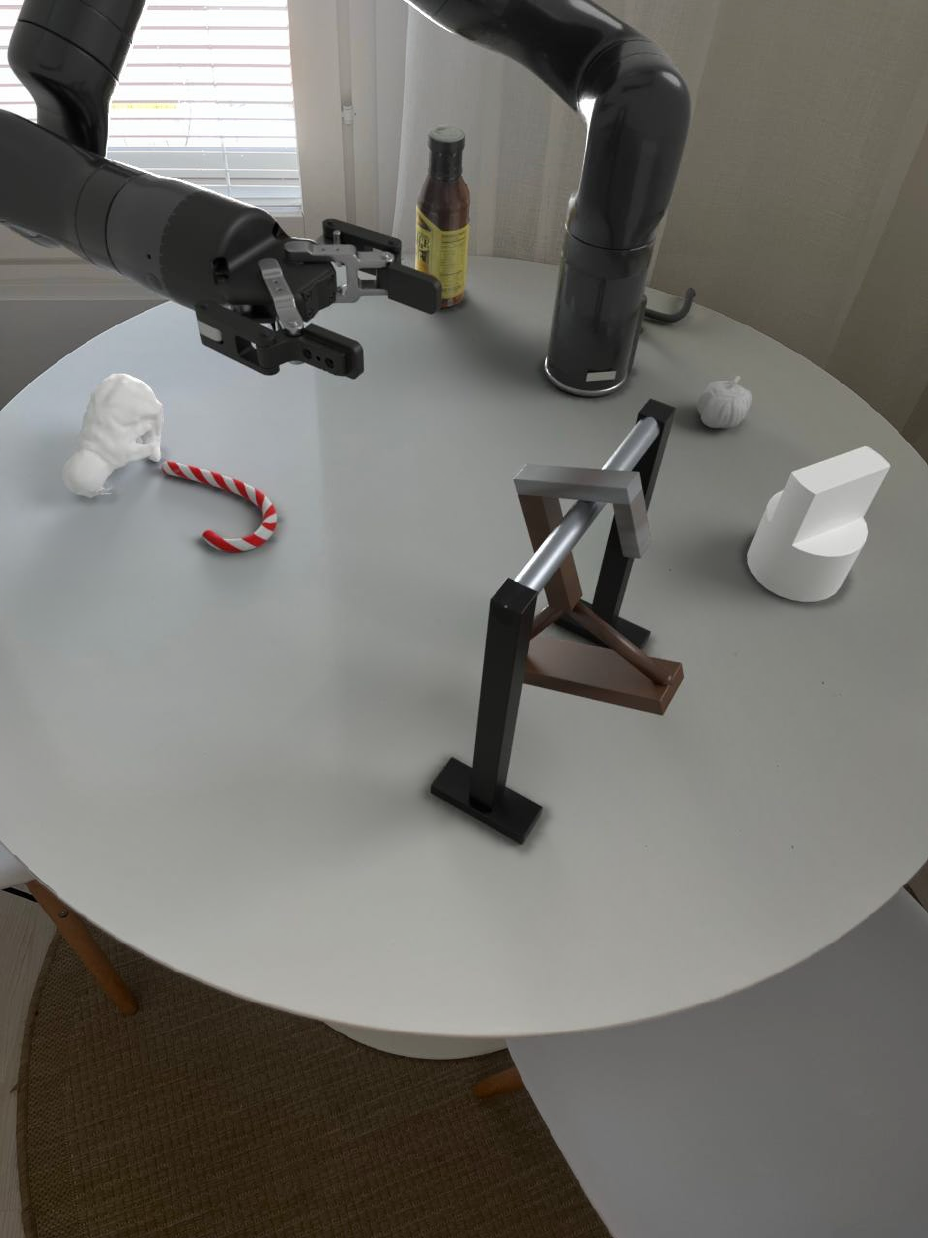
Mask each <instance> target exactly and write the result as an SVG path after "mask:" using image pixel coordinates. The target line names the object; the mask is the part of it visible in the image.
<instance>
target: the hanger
mask: <svg viewBox="0 0 928 1238" xmlns="http://www.w3.org/2000/svg"><path fill="white" fill-rule="evenodd" d="M512 480H513V483H514V488H515V490H516V494H517V498H518V502H519V505H520V509H521V513H522V515H523V520H524V523H525V527H526V530H527V533H528V537H529V540H530V545H531V547H532V551H533V555H534V554H535V553H536V552H537V550H538V549H539V548H540V547H541V545H542V544H543V543H544V542H545V540H546V539H547V538H548V536H549V535H550V534H551V533H552V531H553V530H554V529H555V528H556V526H557V525H558V524H559V522H560V521H561V520H562V519H563V517H564V513H563V510H562V507H561V503H560V499H561V500H572V501H573V500H575V501H577V500H583V501H593V502H604V503H607V504H612V509H613V515H614V514H615V519H616V524H617V528H618V533H619V538H620V543H621V548H622V552H623V556H624V557H631V558H635V559H642V558H643V556H644V555H645V553H646V552H647V550H648V548H649V547H650V546H651V544H652V543H653V540H652V534H651V529H650V523H649V517H648V512H647V511H646V506H645V500H644V495H643V489H642V484H641V479H640V473H639V472H633V471H619V470H605V469H602V468H591V467H575V466H561V465H549V464H548V465H547V464H534V463H533V464H532V463H526V464H525V465H524V466H523V467H522V468H521V469H520V470H519V472H518V473H517V474H516V475H515V476H514V477H513V479H512ZM543 591H544V593H545V597H546V601H547V604H548V605H547V606H545V607H544V608H543V609H542V610H540V611H539V612H538V613H537V614H536V615H534V620H533V626H532V632H531V638H530V644H529V650H528V656H527V662H526V667H525V673H524V679H523V685H528V686H533V687H538V688H541V689H544V690H545V689H546V690H550V691H553V692H559V693H563V694H568V695H572V696H576V697H580V698H584V699H589V700H593V701H597V702H600V703H601V702H602V703H606V704H610V705H614V706H618V707H622V708H626V709H632V710H636V711H640V712H645V713H649V714H653V715H657V716H664V715H665V713H666V711H667V709H668V708H669V705H670V704H671V702H672V700H673V699H674V696H675V695H676V693H677V692H678V689H679V688H680V686H681V684H682V682H683V681H684V678H685V673H684V668H683V663H682V662H679V661H674V660H671V659H670V660H669V659H665V658H659V657H653V656H649V655H648V654H646V652H644V651H643V650H642V651H641V650H640V649H639V648H637V647H636V646H635V645H634V644H632V643H631V642H630V641H629V640H627V639H626V638H625V637H624V636H622V635H621V634H620V633H619V632H617V631H616V630H615V629H614V628H612V627H611V626H610V625H609V624H607V623H606V622H605V621H604V620H602V619H601V618H600V617H599V616H597V615H596V614H595V613H594V612H592V611H591V610H590V609H589V608H587V607H586V606H585V605H584V604H582V603H581V602H580V601H579V600H580V599H582V597H583V590H582V587H581V583H580V579H579V574H578V570H577V567H576V563H575V559H574V555H573V550H572V551H571V552H570V553H569V555H568V556H567V557H566V559H565V560H564V561H563V563H562V564H561V565H560V567H559V568H558V569H557V571H556V572H555V573H554V575H553V576H552V577H551V579H550V580H549V581H548V583H547V584H546V585H545V587H544V588H543ZM565 613H568V614H569V615H570V616H571V617H573V618H574V619H575V620H576V621H578V622H579V623H580V624H581V625H583V626H584V627H585V628H586V629H588V630H589V631H590V632H591V633H593V634H594V635H595V636H596V637H598V638H599V639H600V640H601V641H603V642H604V643H605V644H606V645H608V646H609V647H610V648H611V649H608V648H604V647H602V646H599V645H592V644H587V643H582V642H576V641H571V640H567V639H566V640H565V639H562V638H557V637H552V636H546V635H541V633H542V632H543V631H544V630H546V629H547V628H549V627H550V626H551V625H552V624H554V623H553V622H555V621H556V620H557V619H558V618H560V617H561V616H562V615H563V614H565Z"/></svg>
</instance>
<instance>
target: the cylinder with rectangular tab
mask: <svg viewBox="0 0 928 1238" xmlns="http://www.w3.org/2000/svg"><path fill="white" fill-rule="evenodd" d="M890 469H891V465H890V463H889V462H888V461H887V460H886V459H885V457H883V456H882V455H881V454H879V452H877V451H875V450H874V449H873V448H871V447H870V446H867V445H864V446H861V447H858V448H855V449H853V450H850V451H846V452H844V453H841V454H839V455H835V456H833V457H830V458H827V459H825V460H821V461H819V462H816V463H813V464H810V465H808V466H805V467H802V468H798V469H796V470H794V471H791V473H790V474H789V477H788V479H787V482H786V484H785V486H784V489H782V490H780V491H778V492H776V493H775V494H774V495H773V496H772V497H771V498H770V499H769V500H768V503H767V505H766V507H765V509H764V512H763V515H762V516H761V519H760V522H759V524H758V527H757V529H756V532H755V534H754V537H752V541H751V544H750V546H749V548H748V551H747V553H746V560H747V565H748V568H749V571H750V573H751V574H752V575H753V577H754V578H755V580H756V581H757V582H758V583H759V584H760V585H761V586H763V587H764V588H765V589H766V590H768V591H769V592H771V593H773V594H775V595H777V596H778V597H782V598H785V599H787V600H791V601H795V602H802V603H814V602H815V603H816V602H821V601H824V600H828V599H829V598H831V597H832V596H834V595H835V594H837V592H838V591H839V590H840V588H841V587H842V586H843V583H844V582H845V580H846V579H847V577H848V574H849V573H850V572H851V569H852V568H853V566H854V564H855V562H856V560H857V558H858V557H859V555H860V553H861V551H862V549H863V548H864V546H865V544H866V542H867V539H868V535H869V530H868V524H867V522H866V519H865V518H864V517H865V515H866V513H867V511H868V510H869V508H870V507H871V504H872V502H873V501H874V498H875V497H876V495H877V493H878V491H879V489H880V487H881V485H882V484H883V481H884V480H885V478H886V475H887V474H888V472H889V470H890Z"/></svg>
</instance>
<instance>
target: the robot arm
mask: <svg viewBox="0 0 928 1238" xmlns="http://www.w3.org/2000/svg"><path fill="white" fill-rule="evenodd" d="M149 1H150V0H23V3H22V4H21V9H20V10H19V14H18V17H17V19H16V23H15V25H14V27H13V30H12V33H11V36H10V39H9V42H8V47H7V52H6V53H7V63H8V66H9V67H10V69H11V71H12V72H13V74H14V75H15V77H16V78H17V80H18V81H19V82H20V83H21V84H22V85H23V87H24V88H25V89H26V90H27V91H28V93H29V94H30V96H31V98H32V99H33V101H34V103H35V106H36V107H35V108H36V122H34V121H32V120H30V119H29V118H26V117H24V116H22V115H20V114H17V113H14V112H12V111H9V110H7V109H3V108H0V227H3V228H5V229H7V230H9V231H10V232H13V233H14V234H16V235H18V236H20V237H22V238H24V239H26V240H27V241H30V242H32V243H34V244H35V245H38V246H41V247H44V248H47V249H61V248H65V249H67V250H69V251H70V252H71V253H74V255H77V256H78V257H80V258H82V259H83V260H85V261H87V262H88V263H91V264H92V265H95V266H97V267H99V268H101V269H104V270H106V271H109V272H111V273H113V274H116V275H118V276H120V277H124V279H128V280H130V281H132V282H134V283H135V284H136V285H139V286H140V287H142V288H143V289H145V290H147V291H148V292H150V293H153V294H155V295H156V296H159V297H161V298H163V299H166V300H168V301H170V302H173V303H175V304H178V305H180V306H182V307H185V308H187V309H189V310H192V311H194V312H195V316H196V321H197V328H198V333H199V337H200V341H201V344H202V346H204V347H207V348H208V349H210V350H212V351H215V352H216V353H218V354H221V355H222V356H225V357H227V358H229V359H230V360H233V361H235V362H237V363H238V364H241V365H243V366H245V367H247V368H249V369H251V370H253V371H255V372H257V373H259V374H261V375H263V376H269V377H270V376H275V375H278V373H280V371H281V367H280V366H281V365H284V364H286V363H289V364H290V365H295V366H299V365H303V364H307V365H309V366H311V367H314V368H316V369H318V370H322V371H324V372H327V373H328V374H331V375H333V376H336V377H344V378H347V379H350V380H357V378H359V377H360V376H361V375H362V374H364V372H365V357H364V356H365V355H364V348H363V346H362V344H361V343H360V342H359V341H357V340H355V339H352V338H350V337H347V336H345V335H342V334H340V333H338V332H335V331H332V330H330V329H328V328H325V327H323V326H320V325H317V324H315V323H313V322H310V321H311V320H312V319H314V318H315V317H316V316H317V314H318V313H319V312H320V311H322V310H324V309H326V308H328V307H330V306H332V305H334V304H355V303H357V302H358V301H359V300H360V298H361V297H377V296H378V297H379V296H381V297H382V296H384V297H385V296H387V299H388V300H391V301H394V302H396V303H400V304H402V305H404V306H407V307H410V308H411V309H415V310H418V311H420V312H423V313H425V314H428V315H434V314H435V313H436V312H437V311H439V310H440V309H441V308H442V307H441V302H442V285H441V282H440V281H439V280H438V279H437V278H435V277H434V276H432V275H429V274H425V273H424V272H420V271H418V270H416V269H415V268H413V267H411V266H408V265H404V264H403V263H402V250H403V245H402V244H403V242H402V240H401V239H400V238H398V237H394V236H391V235H388V234H385V233H381V232H378V231H376V230H372V229H369V228H366V227H363V226H359V225H355V224H353V223H349V222H346V221H344V220H340V219H337V218H326V219H324V220H322V221H321V225H322V234H321V235H320V236H318V237H317V238H316V239H309V238H299V237H292V236H290V235H289V234H287V232H286V231H285V230H284V229H283V228H282V226H281V225H280V224H279V223H278V221H277V219H275V217H274V216H272V215H271V213H269V211H268V212H267V211H266V210H265V209H263V208H261V207H257V206H255V205H253V204H249V203H246V202H245V201H244V202H243V201H241V200H238V199H236V198H233V197H230V196H227V195H225V194H222V193H220V192H216V191H214V190H211V189H208V188H205V187H202V186H199V185H197V184H195V183H191V182H188V181H186V180H181V179H179V178H174V177H166V176H161V175H158V174H155V173H153V172H149V171H147V170H144V169H141V168H139V167H137V166H133V165H130V164H128V163H125V162H121V161H119V160H115V159H110V158H108V157H107V154H108V146H109V145H108V144H109V138H110V137H109V136H110V124H111V110H112V109H111V108H112V102H113V98H114V96H115V93H116V92H117V90H118V86H119V83H120V82H121V79H122V77H123V74H124V70H125V69H126V66H127V63H128V60H129V59H130V56H131V53H132V50H133V47H134V44H135V42H136V39H137V36H138V34H139V31H140V28H141V26H142V22H143V19H144V17H145V14H146V11H147V8H148V4H149ZM404 1H405V2H406V3H408V4H409V5H410V6H412V7H413V8H414V9H415V10H417V11H418V12H419V13H421V15H423V16H425V17H426V18H427V19H429V20H430V21H431V22H433V23H435V24H436V25H438V26H439V27H441V28H443V29H444V30H445V31H447V32H448V33H451V34H453V35H455V36H457V37H458V38H460V39H463V40H464V41H466V42H468V43H471V44H473V45H476V46H478V47H481V48H484V49H486V50H488V51H491V52H495V53H496V54H499V55H501V56H504V57H506V58H509V59H510V60H512V61H514V62H516V63H518V64H519V65H521V66H522V67H524V68H525V69H527V70H528V71H529V72H531V73H532V74H533V75H534V76H536V78H538V79H539V80H540V81H542V83H544V85H546V86H547V87H548V88H549V89H550V90H551V91H552V92H553V93H555V94H556V96H558V97H559V99H561V100H562V101H563V103H565V104H566V106H567V107H568V108H570V110H571V111H572V112H573V113H574V114H575V115H576V117H577V118H578V120H579V121H580V122H581V124H582V126H583V128H584V131H585V133H586V141H585V147H584V148H585V149H584V155H583V161H582V166H581V167H582V168H581V172H580V178H579V179H580V180H579V185H578V187H577V188H575V189H574V190H573V191H572V193H571V194H570V196H569V198H568V202H567V210H566V215H565V225H564V231H563V239H562V246H561V247H562V248H561V255H560V260H559V261H560V262H559V267H558V276H557V283H556V288H555V289H556V291H555V296H554V302H553V303H554V304H553V312H552V318H551V325H550V332H549V340H548V345H547V353H546V358H545V363H544V373H545V376H546V377H547V379H548V380H549V381H550V382H551V383H552V384H553V385H554V386H555V387H557V388H558V389H560V390H562V391H563V392H565V393H566V392H567V393H569V394H572V395H577V396H579V397H602V396H608V395H611V394H612V393H615V392H618V391H619V390H620V389H621V388H622V387H623V386H624V384H625V383H626V380H627V376H628V374H630V373H632V371H633V366H634V362H635V357H636V354H637V348H638V345H639V340H640V336H641V334H642V333H643V331H644V327H643V322H644V319H645V317H646V318H648V319H652V320H654V321H658V322H661V323H666V324H668V323H669V324H672V323H676V322H680V321H682V320H683V319H684V318H685V317H686V316H687V315H688V314H689V312H690V310H691V308H692V305H693V301H694V297H696V296H697V295H696V294H697V292H696V290H695V289H694V288H693V287H689V288H687V289H686V291H685V297H684V302H683V305H682V307H681V308H680V310H679V311H677V312H676V313H672V314H671V313H664V312H660V311H657V310H654V309H651V308H648V307H647V304H648V297H647V295H646V294H645V291H646V286H647V281H648V277H649V272H650V267H651V262H652V258H653V253H654V250H655V244H656V240H657V235H658V231H659V228H660V227H659V226H660V224H661V221H662V220H663V218H664V217H665V215H666V213H667V211H668V210H669V208H670V206H671V202H672V200H673V197H674V192H675V188H676V184H677V181H678V178H679V173H680V170H681V167H682V162H683V159H684V155H685V151H686V146H687V142H688V138H689V133H690V128H691V122H692V111H693V110H692V108H693V104H692V103H693V101H692V96H691V95H692V94H691V91H690V88H689V86H688V83H687V81H686V80H685V78H684V76H683V74H682V73H681V72H680V71H679V69H678V68H677V66H676V64H675V63H674V61H673V60H672V58H671V57H670V56H669V54H668V52H667V51H666V50H665V49H664V48H663V47H662V46H661V45H660V44H659V43H658V42H657V41H655V40H654V39H652V38H651V37H650V36H648V35H646V34H645V33H643V32H641V31H640V30H638V29H636V28H635V27H634V26H632V25H631V24H628V23H627V22H626V21H624V20H622V19H621V18H619V17H618V16H616V15H615V14H613V13H612V12H610V11H609V10H608V9H606V8H604V7H603V6H602V5H600V4H599V3H598V2H596V1H594V0H404ZM374 249H375V250H379V251H374ZM333 263H334V265H335V266H334V265H333ZM343 266H344V267H345V273H346V275H345V276H346V281H345V283H344V285H341V286H338V279H337V278H338V277H337V271H336V267H337V268H342V267H343ZM358 272H362V273H366V274H368V275H371V276H374V277H375V279H361V278H359V275H358ZM309 322H310V323H309ZM304 323H306V324H307V323H309V324H308V325H306V326H305V324H304ZM263 324H264V325H263ZM266 325H267V326H266ZM253 344H254V345H255V346H253Z"/></svg>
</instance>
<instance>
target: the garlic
mask: <svg viewBox="0 0 928 1238" xmlns="http://www.w3.org/2000/svg"><path fill="white" fill-rule="evenodd" d="M740 380H741V376H739V375H736V376H735V378H734V379H733V381H730V380H729V381H727V380H720V381H712V382H710V383H709V384H708V385H707V387H706V388H705V389H704V391H703V392H702V393H701V395H700V396H699V398H698V400H697V403H696V409H697V411H698V413H699V415H700V420H701V422H702V423H703V424H704V425H705V426H707V427H709V428H711V429H731V428H735V427H736V426H738V425H740V423H741V422H742V421H743V419H744V418H745V417H746V416H747V414H748V412H749V410H750V408H751V405H752V402H753V395H752V392H751V391H750V390H749V389H747V388H745V387H743V386H741V385H740V384H738V382H739V381H740Z"/></svg>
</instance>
